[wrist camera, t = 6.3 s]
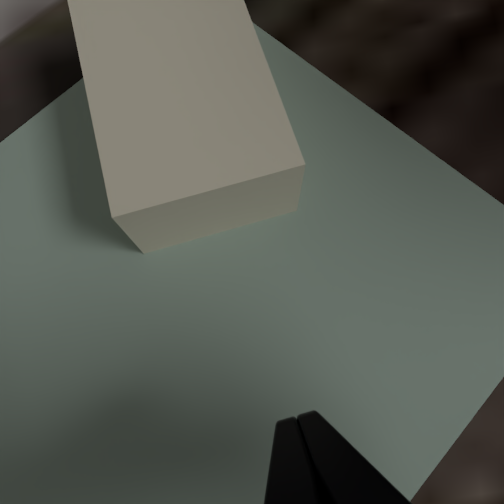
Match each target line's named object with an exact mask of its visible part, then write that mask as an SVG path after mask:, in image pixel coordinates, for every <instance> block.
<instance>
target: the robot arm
mask: <svg viewBox="0 0 504 504" xmlns="http://www.w3.org/2000/svg"><path fill="white" fill-rule="evenodd" d="M264 504H412V503H411V502H410V501H409V500H408V499H407V498H406V497H405V496H404V495H403V494H402V493H401V492H400V491H399V490H398V489H396V488H395V487H394V486H393V485H392V484H391V483H390V482H389V481H388V480H387V479H386V478H385V477H384V476H383V475H382V474H381V473H380V472H379V471H378V470H377V469H376V468H375V467H374V466H373V465H372V464H371V463H370V462H369V461H368V460H367V459H366V458H365V457H364V456H363V455H362V454H361V453H360V452H359V451H358V450H357V449H356V448H354V447H353V446H352V445H351V444H350V443H349V442H348V441H347V440H346V439H345V438H344V437H343V436H342V435H341V434H340V433H339V432H338V431H337V430H336V429H335V428H334V427H333V426H332V425H331V424H330V423H329V422H328V421H327V420H326V419H325V418H324V417H323V416H322V415H321V414H320V413H319V412H317V411H315V410H312V411H308V412H305V413H302V414H299V415H298V416H297V419H296V417H294V416H291V417H288V418H285V419H281V420H278V421H277V422H276V425H275V431H274V437H273V444H272V451H271V458H270V464H269V471H268V478H267V484H266V491H265V498H264Z"/></svg>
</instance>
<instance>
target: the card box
mask: <svg viewBox="0 0 504 504" xmlns="http://www.w3.org/2000/svg"><path fill="white" fill-rule="evenodd" d="M68 5H69V10H70V14H71V19H72V24H73V29H74V34H75V39H76V44H77V49H78V54H79V59H80V64H81V69H82V74H83V79H84V84H85V88H86V93H87V98H88V103H89V108H90V113H91V118H92V123H93V128H94V133H95V138H96V143H97V148H98V153H99V158H100V162H101V167H102V172H103V177H104V182H105V187H106V192H107V197H108V202H109V207H110V212H111V217H112V219H113V220H114V221H115V222H116V223H117V224H118V225H119V226H120V228H121V229H122V230H123V231H124V232H125V233H126V234H127V235H128V237H129V238H130V239H131V240H132V241H133V242H134V243H135V244H136V246H137V247H138V248H139V249H140V250H141V251H142V252H143V253H144V254H145V253H148V252H152V251H156V250H159V249H163V248H166V247H170V246H173V245H177V244H180V243H184V242H188V241H191V240H195V239H198V238H202V237H205V236H209V235H212V234H216V233H219V232H223V231H227V230H230V229H234V228H237V227H241V226H244V225H248V224H251V223H255V222H258V221H262V220H266V219H269V218H273V217H276V216H280V215H283V214H287V213H290V212H294V211H297V207H298V202H299V197H300V192H301V186H302V181H303V176H304V170H305V165H306V164H305V161H304V159H303V156H302V153H301V151H300V148H299V145H298V143H297V140H296V137H295V135H294V132H293V129H292V127H291V124H290V122H289V119H288V116H287V114H286V111H285V108H284V106H283V103H282V100H281V98H280V95H279V92H278V90H277V87H276V84H275V82H274V79H273V76H272V74H271V71H270V68H269V66H268V63H267V60H266V58H265V55H264V52H263V50H262V47H261V45H260V42H259V39H258V37H257V34H256V31H255V29H254V26H253V23H252V21H251V18H250V15H249V13H248V10H247V7H246V5H245V2H244V0H68Z"/></svg>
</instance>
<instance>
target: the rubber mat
mask: <svg viewBox="0 0 504 504" xmlns="http://www.w3.org/2000/svg"><path fill="white" fill-rule="evenodd" d="M252 23H253V22H252ZM253 26H254V29H255V31H256V34H257V37H258V39H259V42H260V45H261V47H262V50H263V52H264V55H265V58H266V60H267V63H268V66H269V68H270V71H271V74H272V76H273V79H274V82H275V84H276V87H277V90H278V92H279V95H280V98H281V100H282V103H283V106H284V108H285V111H286V114H287V116H288V119H289V122H290V124H291V127H292V129H293V132H294V135H295V137H296V140H297V143H298V145H299V148H300V151H301V153H302V156H303V159H304V161H305V164H306V165H305V170H304V176H303V181H302V186H301V192H300V197H299V202H298V207H297V211H294V212H290V213H287V214H283V215H280V216H276V217H273V218H269V219H266V220H262V221H258V222H255V223H251V224H248V225H244V226H241V227H237V228H234V229H230V230H227V231H223V232H219V233H216V234H212V235H209V236H205V237H202V238H198V239H195V240H191V241H188V242H184V243H180V244H177V245H173V246H170V247H166V248H163V249H159V250H156V251H152V252H148V253H145V254H144V253H143V252H142V251H141V250H140V249H139V248H138V247H137V246H136V244H135V243H134V242H133V241H132V240H131V239H130V238H129V237H128V235H127V234H126V233H125V232H124V231H123V230H122V229H121V228H120V226H119V225H118V224H117V223H116V222H115V221H114V220H113V219H112V217H111V212H110V207H109V202H108V197H107V192H106V187H105V182H104V177H103V172H102V167H101V162H100V158H99V153H98V148H97V143H96V138H95V133H94V128H93V123H92V118H91V113H90V108H89V103H88V98H87V93H86V88H85V84H84V79H83V78H82V79H81V80H80V81H78V82H77V83H76V84H74V85H73V86H72V87H71V88H69V89H68V90H67V91H66V92H64V93H63V94H62V95H60V96H59V97H58V98H57V99H55V100H54V101H53V102H52V103H50V104H49V105H48V106H46V107H45V108H44V109H43V110H41V111H40V112H39V113H38V114H36V115H35V116H34V117H32V118H31V119H30V120H29V121H27V122H26V123H25V124H24V125H22V126H21V127H20V128H19V129H17V130H16V131H15V132H13V133H12V134H11V135H10V136H8V137H7V138H6V139H5V140H3V141H2V142H1V143H0V504H264V498H265V491H266V484H267V478H268V471H269V464H270V458H271V451H272V444H273V437H274V431H275V425H276V422H277V421H278V420H281V419H285V418H288V417H291V416H294V417H296V419H297V416H298V415H299V414H302V413H305V412H308V411H312V410H315V411H317V412H319V413H320V414H321V415H322V416H323V417H324V418H325V419H326V420H327V421H328V422H329V423H330V424H331V425H332V426H333V427H334V428H335V429H336V430H337V431H338V432H339V433H340V434H341V435H342V436H343V437H344V438H345V439H346V440H347V441H348V442H349V443H350V444H351V445H352V446H353V447H354V448H356V449H357V450H358V451H359V452H360V453H361V454H362V455H363V456H364V457H365V458H366V459H367V460H368V461H369V462H370V463H371V464H372V465H373V466H374V467H375V468H376V469H377V470H378V471H379V472H380V473H381V474H382V475H383V476H384V477H385V478H386V479H387V480H388V481H389V482H390V483H391V484H392V485H393V486H394V487H395V488H396V489H398V490H399V491H400V492H401V493H402V494H403V495H404V496H405V497H406V498H407V499H408V500H409V501H410V500H411V499H412V498H413V496H414V495H415V494H416V492H417V491H418V490H419V488H420V487H421V486H422V484H423V483H424V482H425V480H426V479H427V478H428V476H429V475H430V474H431V473H432V471H433V470H434V469H435V467H436V466H437V465H438V463H439V462H440V461H441V459H442V458H443V457H444V455H445V454H446V453H447V451H448V450H449V449H450V447H451V446H452V445H453V443H454V442H455V441H456V439H457V438H458V437H459V435H460V434H461V433H462V431H463V430H464V429H465V427H466V426H467V425H468V423H469V422H470V421H471V419H472V418H473V417H474V415H475V414H476V413H477V411H478V410H479V409H480V407H481V406H482V405H483V403H484V402H485V401H486V399H487V398H488V397H489V395H490V394H491V393H492V391H493V390H494V389H495V387H496V386H497V385H498V383H499V382H500V381H501V379H502V378H503V377H504V205H503V204H502V203H500V202H499V201H497V200H496V199H495V198H493V197H492V196H491V195H489V194H488V193H486V192H485V191H484V190H482V189H481V188H480V187H478V186H477V185H475V184H474V183H473V182H471V181H470V180H469V179H467V178H466V177H464V176H463V175H462V174H460V173H459V172H458V171H456V170H455V169H453V168H452V167H451V166H449V165H448V164H447V163H445V162H444V161H442V160H441V159H440V158H438V157H437V156H436V155H434V154H433V153H431V152H430V151H429V150H427V149H426V148H425V147H423V146H422V145H420V144H419V143H418V142H416V141H415V140H414V139H412V138H411V137H409V136H408V135H407V134H405V133H404V132H403V131H401V130H400V129H398V128H397V127H396V126H394V125H393V124H392V123H390V122H389V121H387V120H386V119H385V118H383V117H382V116H381V115H379V114H378V113H376V112H375V111H374V110H372V109H371V108H370V107H368V106H367V105H365V104H364V103H363V102H361V101H360V100H358V99H357V98H356V97H354V96H353V95H352V94H350V93H349V92H347V91H346V90H345V89H343V88H342V87H341V86H339V85H338V84H336V83H335V82H334V81H332V80H331V79H330V78H328V77H327V76H325V75H324V74H323V73H321V72H320V71H319V70H317V69H316V68H314V67H313V66H312V65H310V64H309V63H308V62H306V61H305V60H303V59H302V58H301V57H299V56H298V55H297V54H295V53H294V52H292V51H291V50H290V49H288V48H287V47H286V46H284V45H283V44H281V43H280V42H279V41H277V40H276V39H275V38H273V37H272V36H270V35H269V34H268V33H266V32H265V31H264V30H262V29H261V28H259V27H258V26H257V25H255V24H254V23H253Z"/></svg>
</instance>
